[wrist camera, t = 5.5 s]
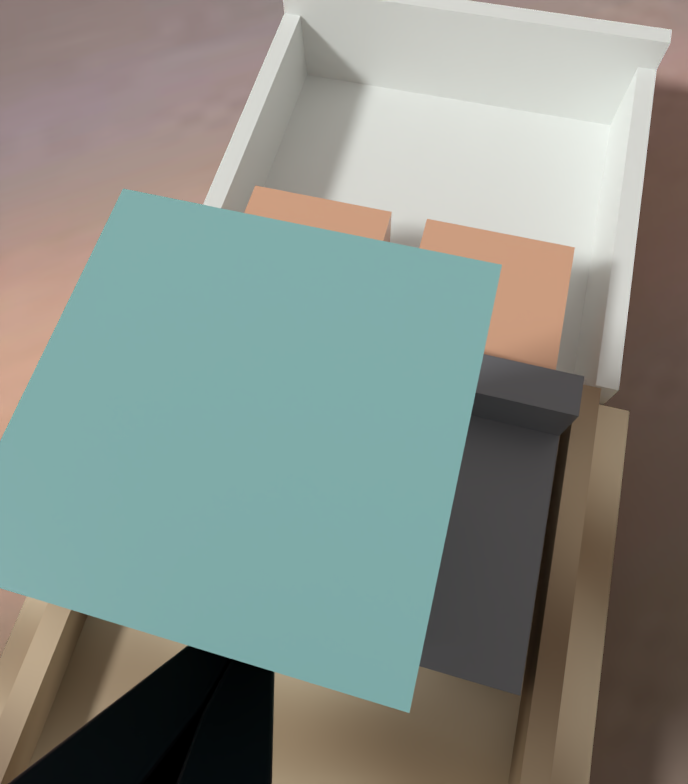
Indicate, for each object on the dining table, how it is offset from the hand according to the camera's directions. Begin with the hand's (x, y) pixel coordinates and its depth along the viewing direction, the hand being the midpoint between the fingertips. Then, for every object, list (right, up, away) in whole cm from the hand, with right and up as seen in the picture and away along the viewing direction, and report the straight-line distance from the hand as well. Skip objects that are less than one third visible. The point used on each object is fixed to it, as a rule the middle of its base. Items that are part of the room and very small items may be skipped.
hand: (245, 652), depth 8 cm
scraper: (+1, +1, +7) cm, 8 cm away
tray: (+4, +10, +14) cm, 17 cm away
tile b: (+5, +5, +9) cm, 12 cm away
